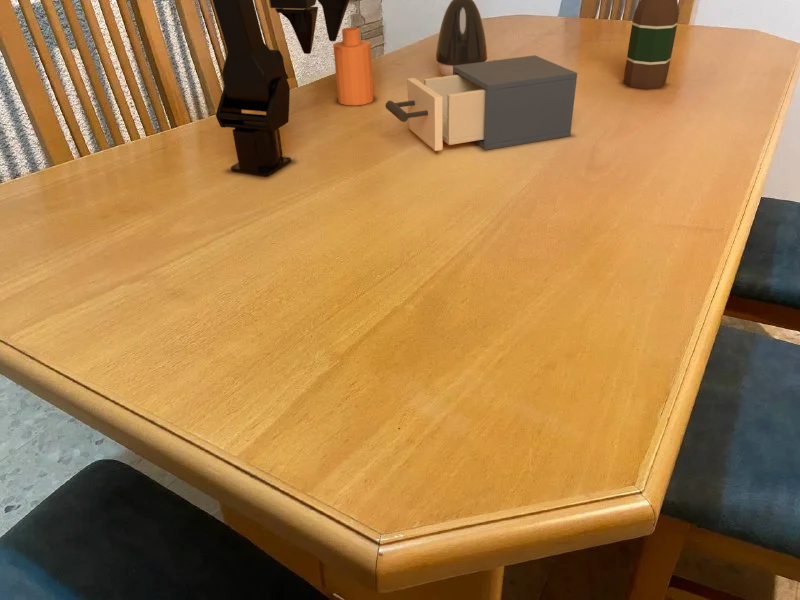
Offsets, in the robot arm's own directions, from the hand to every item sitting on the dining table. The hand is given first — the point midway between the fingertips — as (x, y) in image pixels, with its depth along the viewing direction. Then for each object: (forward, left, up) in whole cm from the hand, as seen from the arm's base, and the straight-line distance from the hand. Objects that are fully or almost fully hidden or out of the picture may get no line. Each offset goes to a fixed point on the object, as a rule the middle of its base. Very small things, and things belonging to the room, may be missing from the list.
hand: (320, 47), depth 104 cm
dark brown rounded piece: (+33, -12, -12) cm, 37 cm away
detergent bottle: (+12, +1, -12) cm, 17 cm away
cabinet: (+5, -31, -12) cm, 34 cm away
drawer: (-3, -23, -11) cm, 26 cm away
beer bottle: (+39, -47, -12) cm, 62 cm away
